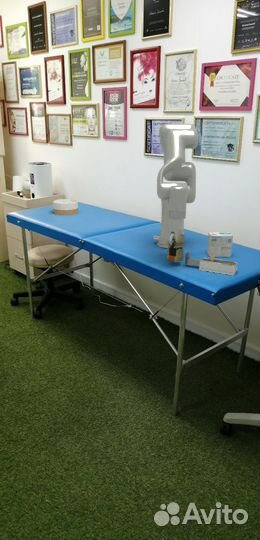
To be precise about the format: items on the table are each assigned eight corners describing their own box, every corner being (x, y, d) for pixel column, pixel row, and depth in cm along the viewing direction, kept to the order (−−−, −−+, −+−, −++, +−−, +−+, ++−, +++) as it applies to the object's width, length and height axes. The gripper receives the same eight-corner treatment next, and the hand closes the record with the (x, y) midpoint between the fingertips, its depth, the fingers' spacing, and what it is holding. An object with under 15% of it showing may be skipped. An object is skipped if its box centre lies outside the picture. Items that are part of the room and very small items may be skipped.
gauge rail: (198, 270, 175) (199, 261, 174) (203, 265, 181) (203, 256, 180) (233, 275, 169) (234, 266, 168) (236, 270, 175) (237, 261, 174)
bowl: (51, 215, 276) (50, 203, 273) (56, 210, 292) (55, 198, 289) (76, 215, 275) (75, 203, 272) (80, 210, 291) (79, 199, 288)
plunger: (184, 263, 179) (185, 252, 177) (186, 261, 182) (187, 250, 180) (212, 268, 174) (213, 256, 172) (214, 265, 177) (215, 254, 175)
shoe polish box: (167, 259, 183) (168, 234, 178) (175, 257, 185) (176, 232, 181) (174, 262, 179) (176, 236, 175) (182, 260, 182) (184, 234, 178)
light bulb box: (227, 252, 199) (229, 231, 195) (231, 257, 193) (233, 235, 189) (206, 252, 199) (208, 231, 195) (209, 257, 192) (211, 235, 189)
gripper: (175, 209, 184) (173, 247, 190) (162, 217, 169) (160, 257, 175) (191, 211, 181) (188, 249, 187) (179, 219, 166) (177, 260, 172)
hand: (175, 253), depth 181 cm, fingers closed on shoe polish box, 6 cm apart
